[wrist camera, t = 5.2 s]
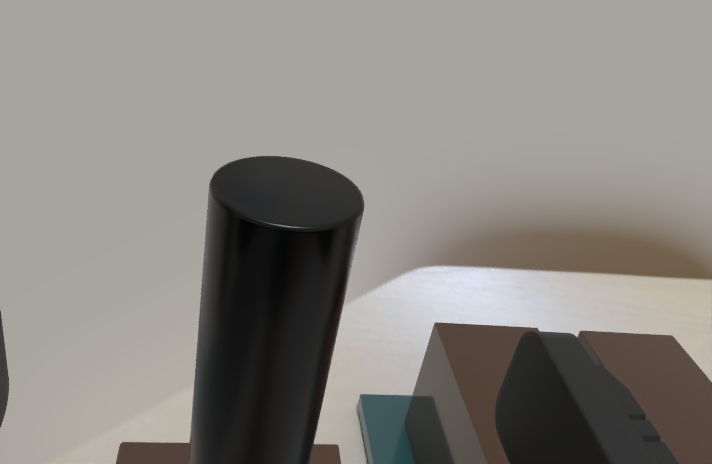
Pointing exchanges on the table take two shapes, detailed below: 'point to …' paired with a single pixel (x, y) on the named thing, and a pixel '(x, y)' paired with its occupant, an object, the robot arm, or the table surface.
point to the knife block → (171, 459)
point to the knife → (270, 307)
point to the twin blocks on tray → (484, 379)
